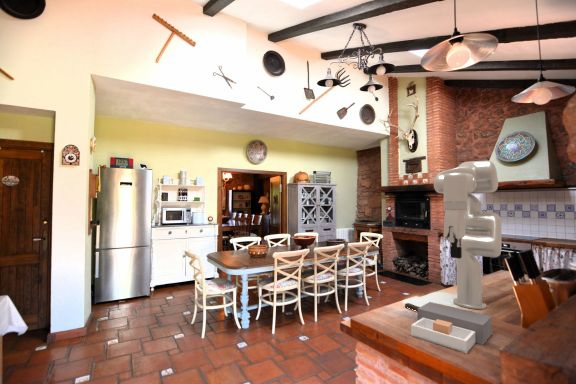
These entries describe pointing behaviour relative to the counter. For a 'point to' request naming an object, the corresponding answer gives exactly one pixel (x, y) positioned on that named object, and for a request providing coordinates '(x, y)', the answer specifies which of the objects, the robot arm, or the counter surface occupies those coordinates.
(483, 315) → the block
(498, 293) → the counter surface
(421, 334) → the box
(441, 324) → the terracotta tile
